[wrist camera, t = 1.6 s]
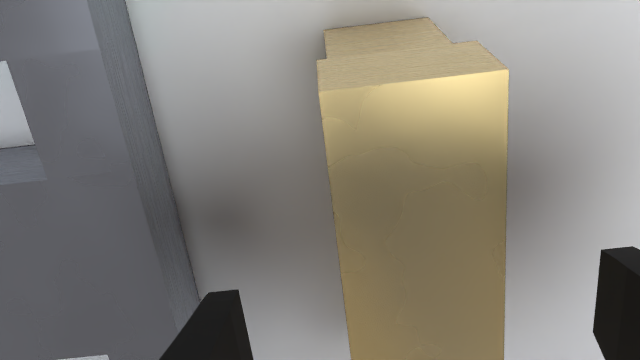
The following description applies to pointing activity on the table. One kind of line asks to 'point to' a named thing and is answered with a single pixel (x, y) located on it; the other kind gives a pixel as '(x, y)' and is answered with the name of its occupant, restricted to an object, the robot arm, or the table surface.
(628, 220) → the table surface
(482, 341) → the wooden bridge block
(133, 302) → the rail
